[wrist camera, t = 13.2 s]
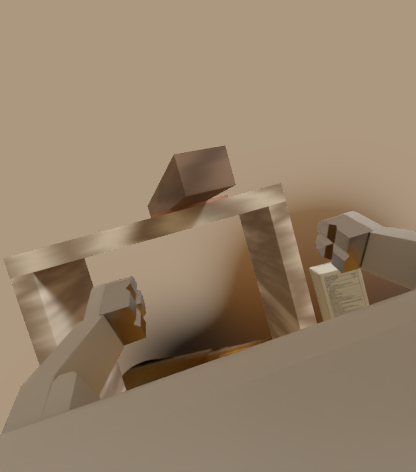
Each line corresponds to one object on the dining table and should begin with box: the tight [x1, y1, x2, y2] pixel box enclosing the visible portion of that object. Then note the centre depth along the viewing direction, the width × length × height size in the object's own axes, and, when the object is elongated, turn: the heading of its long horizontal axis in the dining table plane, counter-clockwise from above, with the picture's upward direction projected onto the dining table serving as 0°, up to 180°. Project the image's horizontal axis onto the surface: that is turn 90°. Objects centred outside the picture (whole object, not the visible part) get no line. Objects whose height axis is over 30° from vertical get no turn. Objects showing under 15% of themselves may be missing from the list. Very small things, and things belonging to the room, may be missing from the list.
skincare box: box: [309, 262, 369, 322], centre depth 37 cm, size 6×4×12 cm
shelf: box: [4, 183, 317, 399], centre depth 30 cm, size 28×12×26 cm, turn 98°
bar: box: [148, 146, 236, 218], centre depth 28 cm, size 4×24×3 cm, turn 20°
